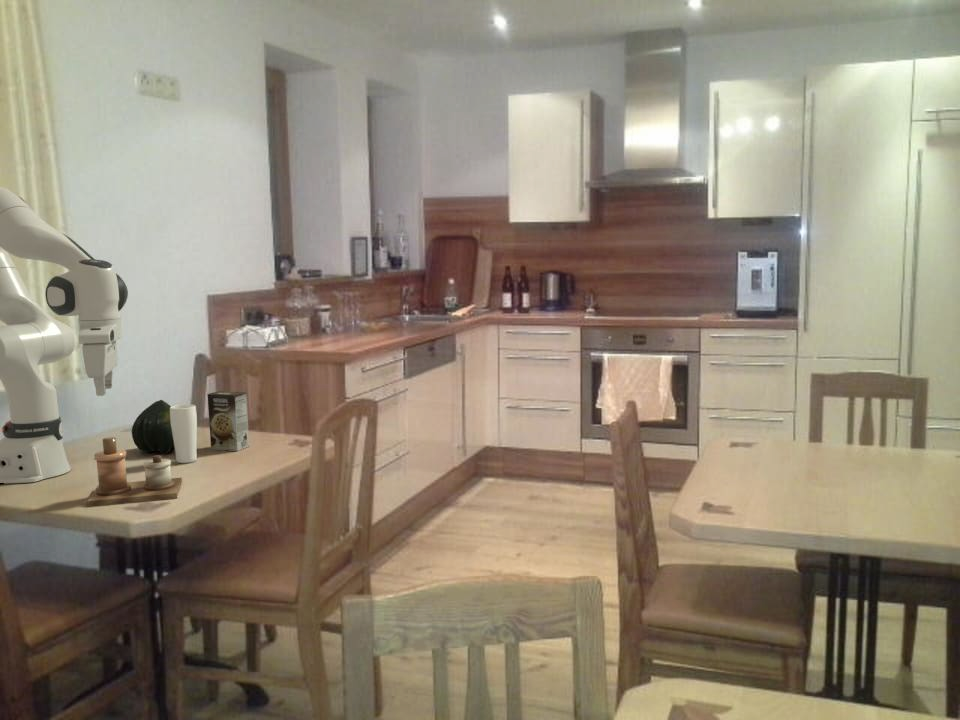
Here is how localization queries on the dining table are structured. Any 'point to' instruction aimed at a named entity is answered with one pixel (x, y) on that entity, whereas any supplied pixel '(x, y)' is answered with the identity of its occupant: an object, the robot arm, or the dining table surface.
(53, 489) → the dining table surface
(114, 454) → the jar lid
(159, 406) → the squash
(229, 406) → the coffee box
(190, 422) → the drinking glass
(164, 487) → the holder
